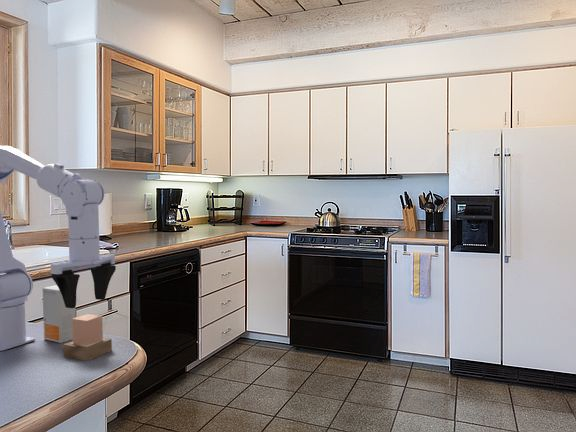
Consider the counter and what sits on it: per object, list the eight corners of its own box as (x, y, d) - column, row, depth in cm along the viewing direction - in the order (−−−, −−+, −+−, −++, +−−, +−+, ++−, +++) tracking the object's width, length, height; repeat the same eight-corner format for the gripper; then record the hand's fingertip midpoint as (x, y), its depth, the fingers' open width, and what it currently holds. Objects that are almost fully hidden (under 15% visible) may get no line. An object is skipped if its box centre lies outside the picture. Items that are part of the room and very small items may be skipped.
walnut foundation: (63, 356, 93) (63, 343, 93) (89, 346, 99) (88, 334, 99) (86, 361, 91) (86, 348, 91) (111, 350, 97) (111, 338, 97)
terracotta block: (72, 342, 94) (72, 318, 94) (88, 337, 97) (88, 313, 97) (87, 345, 92) (86, 320, 92) (102, 339, 96) (102, 315, 96)
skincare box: (43, 339, 104) (41, 287, 104) (60, 334, 108) (58, 284, 107) (60, 343, 101) (59, 290, 101) (77, 338, 105) (76, 286, 104)
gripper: (68, 242, 86) (70, 313, 87) (125, 235, 99) (126, 297, 100) (42, 240, 89) (44, 309, 90) (100, 234, 102) (102, 294, 103)
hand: (85, 303), depth 95 cm, fingers open, 7 cm apart
